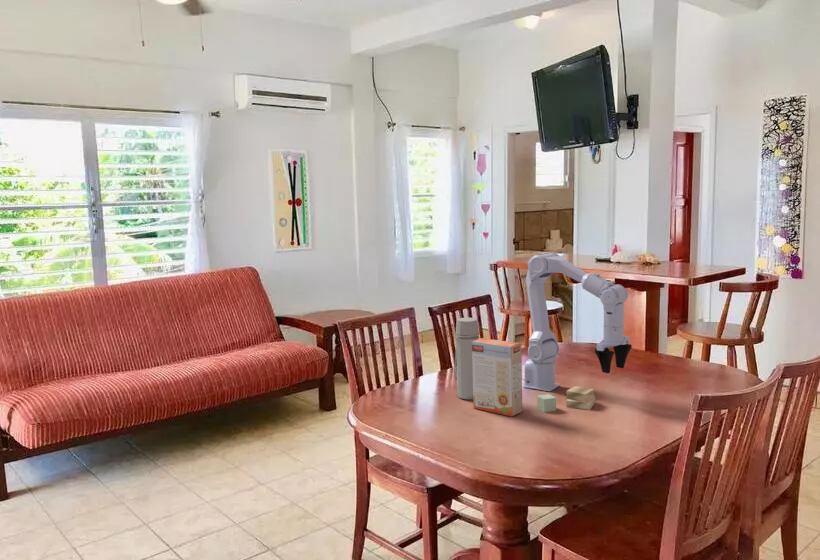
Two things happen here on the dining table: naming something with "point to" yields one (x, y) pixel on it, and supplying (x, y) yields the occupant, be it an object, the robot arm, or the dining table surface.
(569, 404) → the beech slab bottom
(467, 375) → the water bottle
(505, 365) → the cracker box
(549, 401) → the sage cube
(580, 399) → the beech slab top
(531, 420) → the dining table surface
